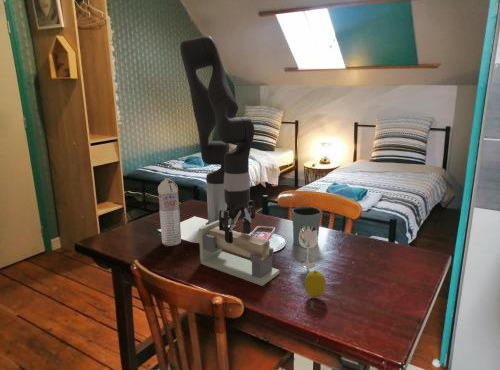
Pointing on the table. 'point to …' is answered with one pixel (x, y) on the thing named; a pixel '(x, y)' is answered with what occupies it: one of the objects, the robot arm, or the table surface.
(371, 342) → the table surface
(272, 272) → the bracket stand
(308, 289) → the lemon
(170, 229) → the water bottle
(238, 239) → the rail
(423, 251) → the table surface
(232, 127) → the robot arm
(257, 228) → the phone case
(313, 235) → the wineglass
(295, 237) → the grey plant pot
